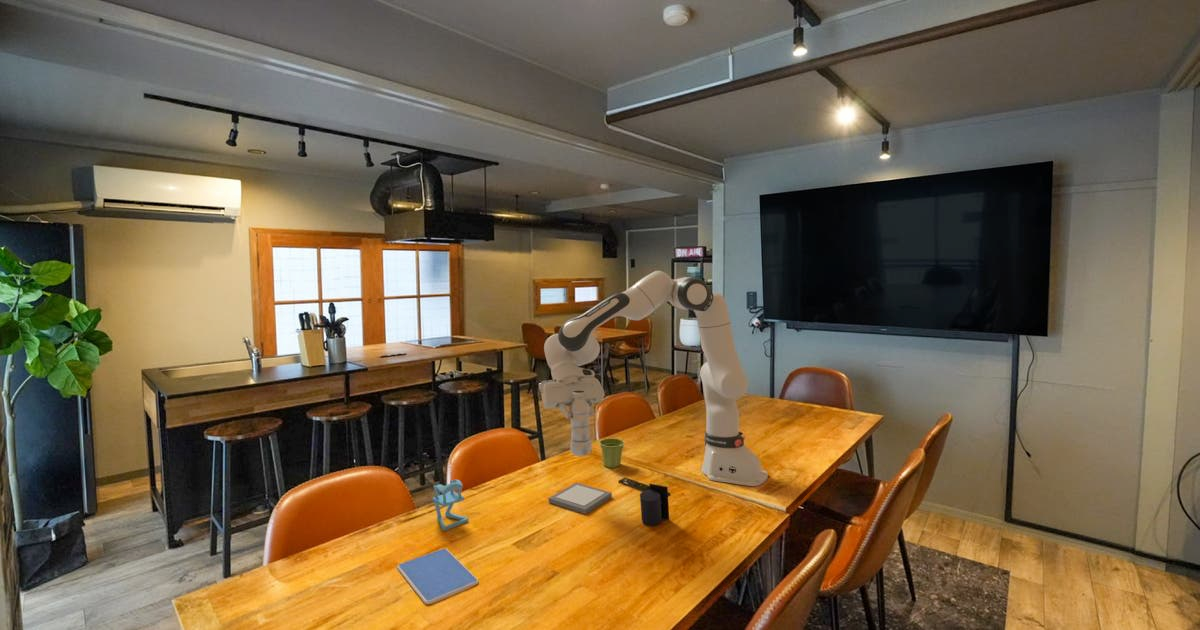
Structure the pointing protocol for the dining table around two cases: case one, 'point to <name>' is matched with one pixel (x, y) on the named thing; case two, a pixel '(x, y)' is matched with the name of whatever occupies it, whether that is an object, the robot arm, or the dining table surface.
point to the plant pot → (612, 451)
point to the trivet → (580, 498)
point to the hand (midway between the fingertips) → (580, 415)
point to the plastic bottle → (580, 425)
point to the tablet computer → (437, 576)
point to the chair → (448, 502)
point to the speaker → (654, 505)
